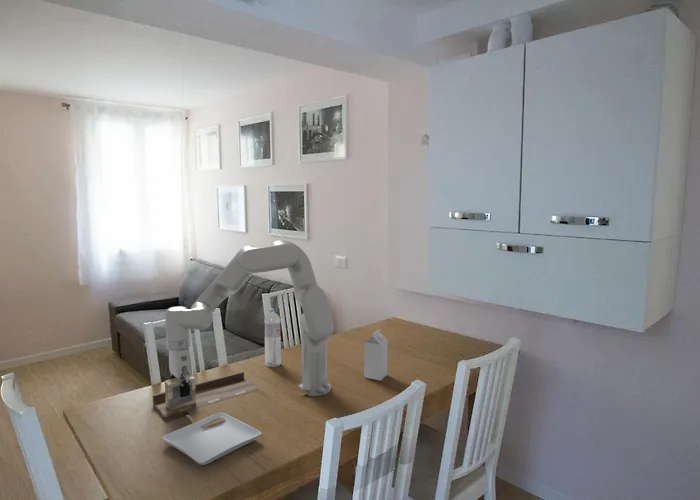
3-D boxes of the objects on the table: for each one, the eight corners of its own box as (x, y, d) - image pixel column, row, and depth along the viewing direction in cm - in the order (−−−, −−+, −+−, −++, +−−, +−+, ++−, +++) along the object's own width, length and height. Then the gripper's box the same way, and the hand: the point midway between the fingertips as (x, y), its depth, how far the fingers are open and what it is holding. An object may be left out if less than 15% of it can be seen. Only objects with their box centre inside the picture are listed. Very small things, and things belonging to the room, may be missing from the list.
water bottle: (272, 369, 191) (271, 312, 188) (261, 365, 195) (260, 309, 192) (284, 364, 197) (283, 308, 194) (273, 360, 201) (272, 306, 198)
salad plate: (221, 419, 149) (221, 409, 148) (263, 442, 136) (263, 431, 135) (160, 447, 133) (160, 436, 132) (201, 475, 119) (200, 463, 119)
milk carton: (364, 377, 183) (364, 332, 181) (371, 371, 189) (372, 328, 187) (380, 381, 180) (380, 335, 177) (387, 375, 186) (387, 330, 184)
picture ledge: (259, 393, 168) (259, 383, 167) (165, 421, 147) (165, 409, 146) (243, 381, 179) (242, 371, 178) (153, 405, 158) (152, 394, 157)
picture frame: (196, 402, 157) (195, 378, 156) (169, 410, 151) (168, 384, 150) (191, 398, 160) (190, 374, 159) (165, 405, 154) (164, 380, 153)
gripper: (198, 347, 149) (200, 397, 151) (181, 334, 162) (182, 380, 164) (175, 352, 144) (177, 403, 146) (159, 339, 157) (161, 385, 159)
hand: (180, 391), depth 155 cm, fingers open, 9 cm apart
